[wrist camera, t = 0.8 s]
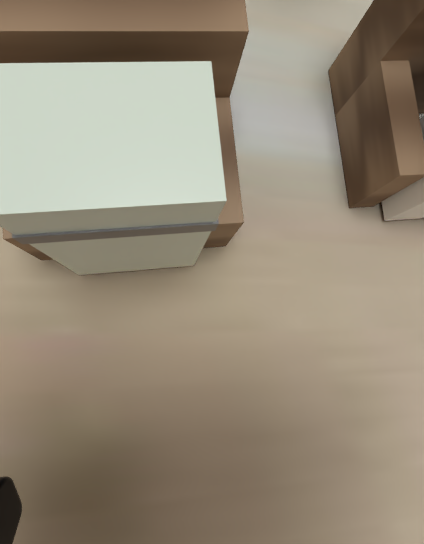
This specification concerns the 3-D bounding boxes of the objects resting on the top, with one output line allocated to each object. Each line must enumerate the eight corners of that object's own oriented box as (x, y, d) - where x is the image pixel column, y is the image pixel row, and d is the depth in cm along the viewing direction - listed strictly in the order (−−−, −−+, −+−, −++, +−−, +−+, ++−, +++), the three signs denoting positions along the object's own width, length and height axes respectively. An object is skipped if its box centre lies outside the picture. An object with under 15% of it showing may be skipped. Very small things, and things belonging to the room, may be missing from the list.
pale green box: (195, 267, 21) (229, 203, 10) (77, 276, 20) (-21, 218, 9) (188, 193, 22) (213, 58, 11) (72, 199, 21) (-25, 60, 10)
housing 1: (225, 245, 22) (268, 190, 13) (41, 260, 20) (-52, 208, 12) (209, 99, 23) (239, -45, 14) (34, 103, 22) (-56, -53, 13)
